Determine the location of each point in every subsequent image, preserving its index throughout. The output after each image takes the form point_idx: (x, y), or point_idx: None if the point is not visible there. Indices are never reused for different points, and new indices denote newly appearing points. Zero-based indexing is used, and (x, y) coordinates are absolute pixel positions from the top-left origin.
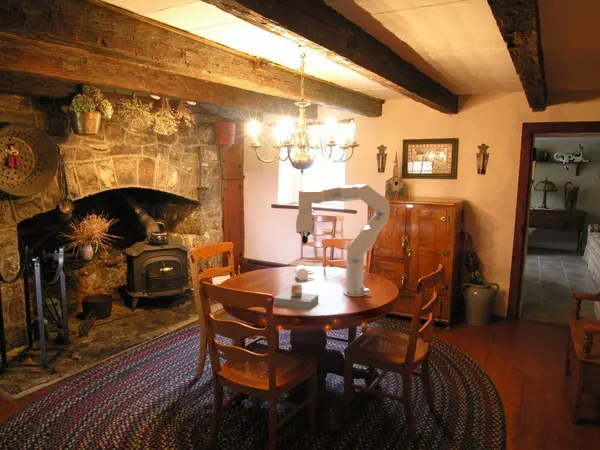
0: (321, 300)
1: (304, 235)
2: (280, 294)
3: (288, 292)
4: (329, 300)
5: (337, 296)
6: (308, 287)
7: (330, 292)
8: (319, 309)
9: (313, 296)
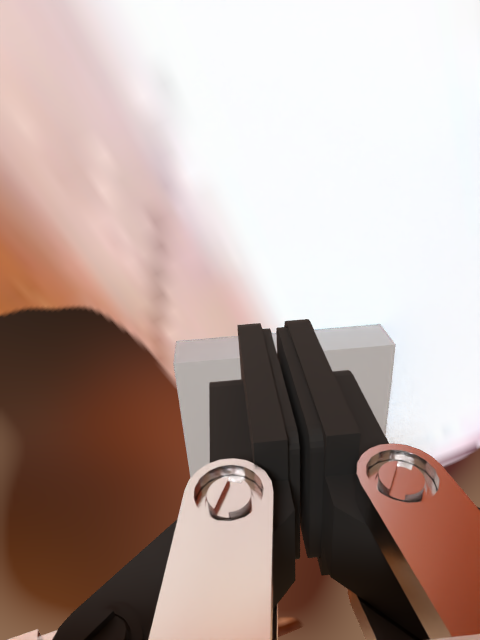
0: (389, 290)
1: (293, 550)
2: (191, 427)
3: (212, 381)
4: (434, 270)
5: (469, 168)
6: (194, 30)
7: (404, 92)
8: (414, 412)
9: (376, 380)
